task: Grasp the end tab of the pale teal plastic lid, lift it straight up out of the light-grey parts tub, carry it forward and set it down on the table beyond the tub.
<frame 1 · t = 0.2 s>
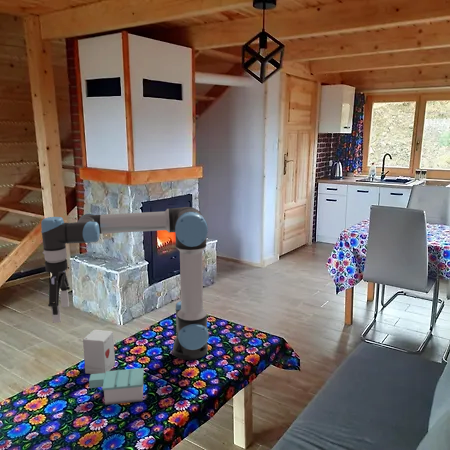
hand: (61, 314, 158), 27 cm above the table, fingers open, 13 cm apart
tub: (124, 394, 155), on the table
lid: (124, 382, 154), point 5 cm above the table, touching tub
supplement box: (100, 369, 171), on the table
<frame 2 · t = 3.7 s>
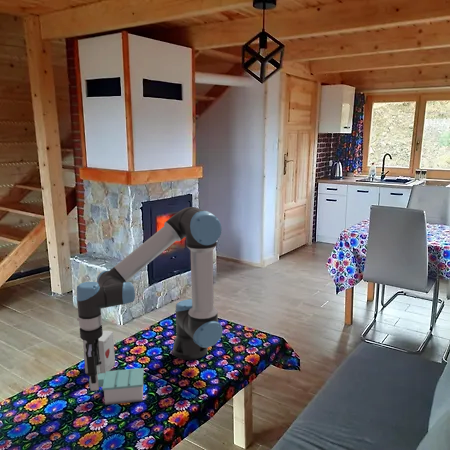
hand: (95, 385, 152), 5 cm above the table, fingers closed on lid, 4 cm apart
lid: (124, 382, 154), point 5 cm above the table, touching gripper, tub
everything else where it was.
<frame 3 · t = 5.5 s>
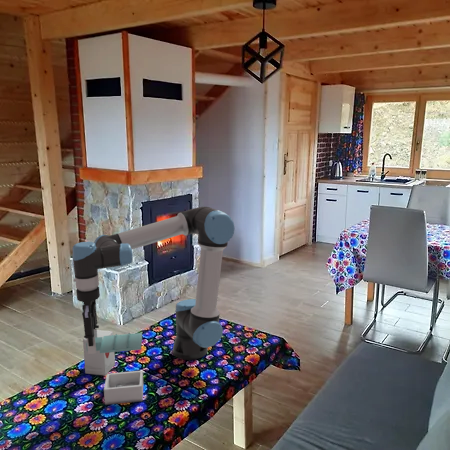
hand: (93, 349, 149), 19 cm above the table, fingers closed on lid, 4 cm apart
lid: (122, 346, 150), point 19 cm above the table, touching gripper
everything else where it was.
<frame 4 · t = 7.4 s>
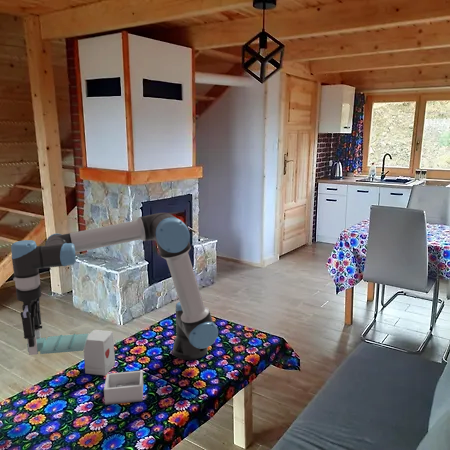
hand: (35, 350, 146), 20 cm above the table, fingers closed on lid, 4 cm apart
lid: (65, 347, 147), point 21 cm above the table, touching gripper
everything else where it was.
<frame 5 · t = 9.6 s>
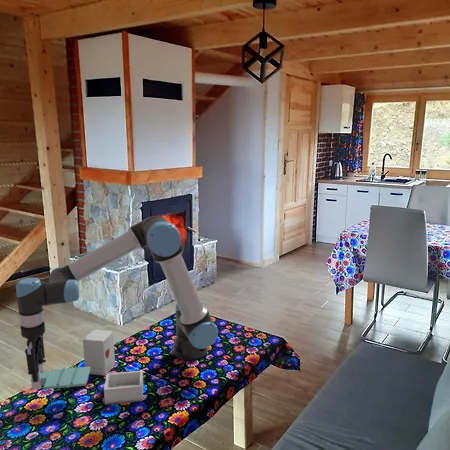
hand: (39, 384, 149), 7 cm above the table, fingers closed on lid, 4 cm apart
lid: (68, 380, 150), point 8 cm above the table, touching gripper
everything else where it was.
when the fingers open (2 cm above the table, at t = 11.4 s): lid drops 2 cm, on the table.
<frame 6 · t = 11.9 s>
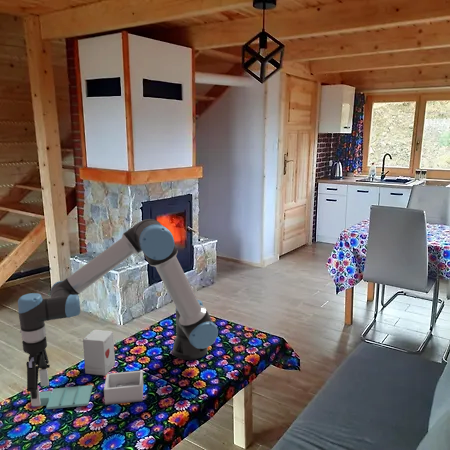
hand: (40, 395, 150), 3 cm above the table, fingers open, 11 cm apart
lid: (70, 400, 152), on the table
everything else where it was.
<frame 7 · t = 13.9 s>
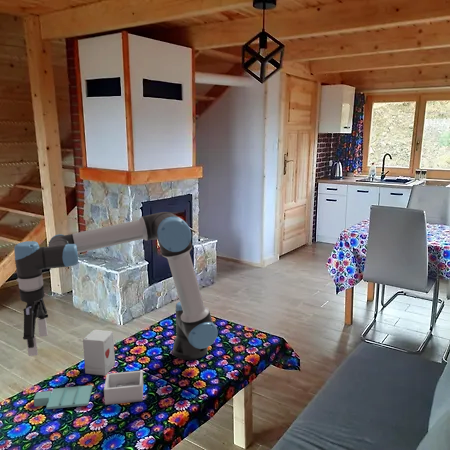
hand: (38, 345, 147), 22 cm above the table, fingers open, 13 cm apart
nothing on the table moved.
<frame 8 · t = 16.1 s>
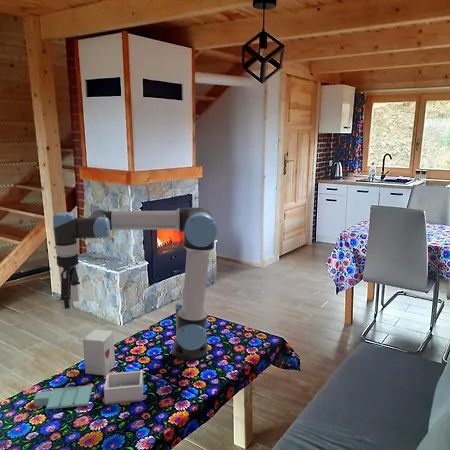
hand: (72, 308, 160), 29 cm above the table, fingers open, 13 cm apart
nothing on the table moved.
at the end: lid inside the target area on the table beside the tub (0.9 cm from its centre), on the table; lid touching table; the gripper is holding nothing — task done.
